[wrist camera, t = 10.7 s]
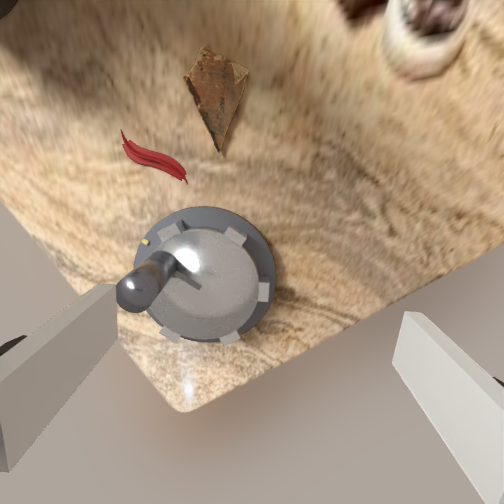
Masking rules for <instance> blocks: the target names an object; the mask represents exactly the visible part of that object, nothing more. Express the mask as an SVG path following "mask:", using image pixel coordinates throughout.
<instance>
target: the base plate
mask: <svg viewBox="0 0 504 504" xmlns="http://www.w3.org/2000/svg"><path fill="white" fill-rule="evenodd" d="M180 219H181V220H182V222H183V224H184V226H185V227H186V229H187V228H190V227H198V226H206V227H213V228H217V229H221V230H223V231H225V230H226V229H227V227H228V226H229V224H230V223H232V224H234V225H235V226H237V227H238V228H240V229H241V230H243V231H244V232H246V233H248V234H247V239H246V240H245V242H244V243H243V244H244V245H245V246H246V247H247V248H248V250H249V251H250V252H251V254H252V256H253V257H254V260H255V262H256V265H257V268H258V273H259V275H269V282H270V284H269V296H268V302H261V301H257V304H256V307H255V309H254V311H253V313H252V314H251V316H250V318H249V319H248V320H247V321H246V322H245V323H244V324H243V325H242V326H241V327H242V331H241V335H242V334H244V333H245V332H247V331H248V330H250V329H251V328H252V327H254V326H255V325H256V324H257V323H258V322H259V321H260V320H261V319H262V318H263V316H264V315H265V313H266V312H267V310H268V308H269V306H270V304H271V302H272V299H273V297H274V293H275V287H276V270H275V263H274V259H273V255H272V253H271V250H270V247H269V246H268V244H267V242H266V240H265V239H264V237H263V236H262V234H261V233H260V232H259V231H258V230H257V229H256V228H255V227H254V226H253V225H252V224H251V223H250V222H248V221H247V220H246V219H244V218H243V217H241V216H239V215H238V214H235V213H233V212H231V211H228V210H225V209H221V208H216V207H208V206H199V207H191V208H187V209H183V210H180V211H177V212H175V213H173V214H171V215H169V216H168V217H166V218H164V219H162V220H161V221H160V222H158V223H157V224H156V225H154V226H153V227H152V228H151V230H150V231H149V232H148V233H147V234H146V236H145V237H144V238H143V240H142V242H141V244H140V246H139V248H138V250H137V253H136V256H135V261H134V269H135V268H136V267H137V266H138V265H139V264H141V263H142V262H143V261H144V260H145V259H147V258H148V257H149V256H150V255H151V254H152V253H153V251H154V250H155V249H156V248H157V247H158V246H159V245H160V244H161V243H162V241H161V239H160V237H159V236H158V234H157V232H158V231H160V230H161V229H163V228H164V227H166V226H168V225H170V224H172V223H174V222H176V221H178V220H180ZM146 311H147V312H148V314H149V315H150V316H151V317H152V318H153V319H154V320H155V321H156V322H157V323H158V324H159V325H160V326H161V327H163V324H162V323H161V322H160V321H159V320H158V319H157V318H156V317H155V316H154V314H153V313H152V312H151V310H150V308H148V309H146ZM180 337H182V338H184V339H188V340H191V341H197V342H220V339H219V338H215V339H207V340H205V339H192V338H188V337H185V336H182V335H181V336H180Z"/></svg>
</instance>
